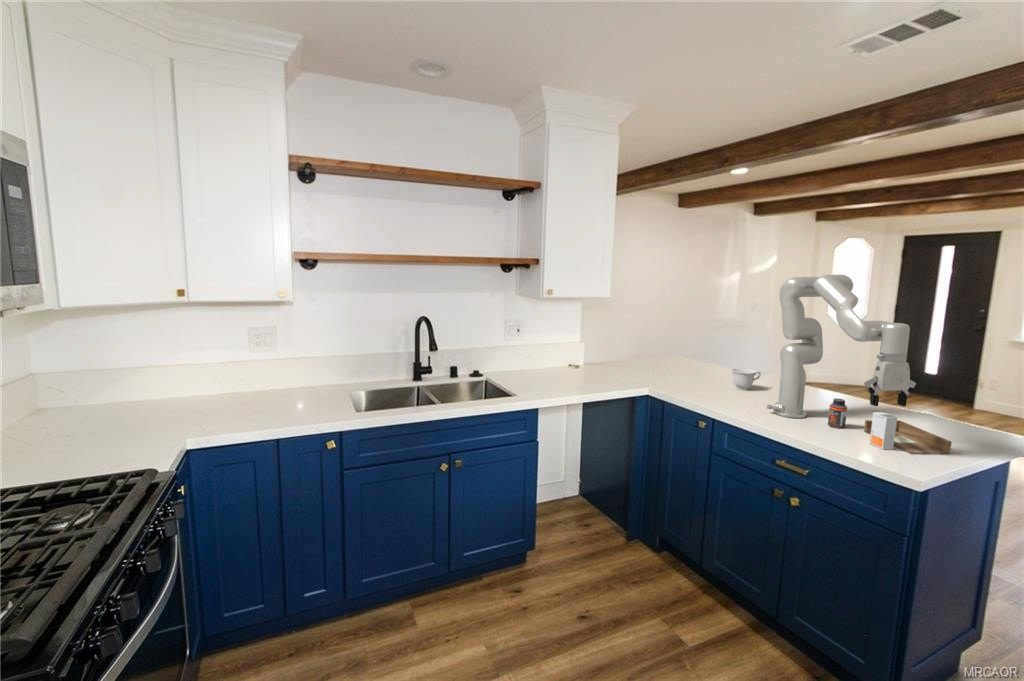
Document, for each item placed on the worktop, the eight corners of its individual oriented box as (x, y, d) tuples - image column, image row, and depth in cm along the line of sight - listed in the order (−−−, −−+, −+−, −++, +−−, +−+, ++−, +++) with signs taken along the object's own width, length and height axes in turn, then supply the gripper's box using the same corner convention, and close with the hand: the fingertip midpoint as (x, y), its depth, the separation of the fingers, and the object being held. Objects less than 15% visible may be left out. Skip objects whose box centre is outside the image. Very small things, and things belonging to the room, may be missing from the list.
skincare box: (868, 443, 177) (872, 412, 175) (879, 443, 177) (883, 412, 175) (882, 449, 171) (886, 417, 169) (893, 449, 171) (898, 417, 169)
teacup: (765, 392, 249) (766, 373, 247) (736, 391, 249) (737, 373, 248) (753, 386, 261) (755, 368, 259) (726, 386, 261) (727, 368, 259)
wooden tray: (910, 454, 167) (912, 441, 166) (863, 431, 190) (865, 420, 189) (949, 454, 167) (951, 441, 166) (898, 431, 190) (899, 420, 189)
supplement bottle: (824, 425, 197) (826, 398, 196) (833, 423, 200) (836, 396, 198) (838, 429, 192) (842, 402, 190) (848, 427, 194) (851, 400, 193)
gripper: (875, 360, 165) (870, 408, 168) (926, 360, 165) (920, 408, 167) (860, 356, 173) (855, 402, 175) (909, 356, 173) (903, 402, 175)
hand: (887, 405), depth 171 cm, fingers open, 9 cm apart
